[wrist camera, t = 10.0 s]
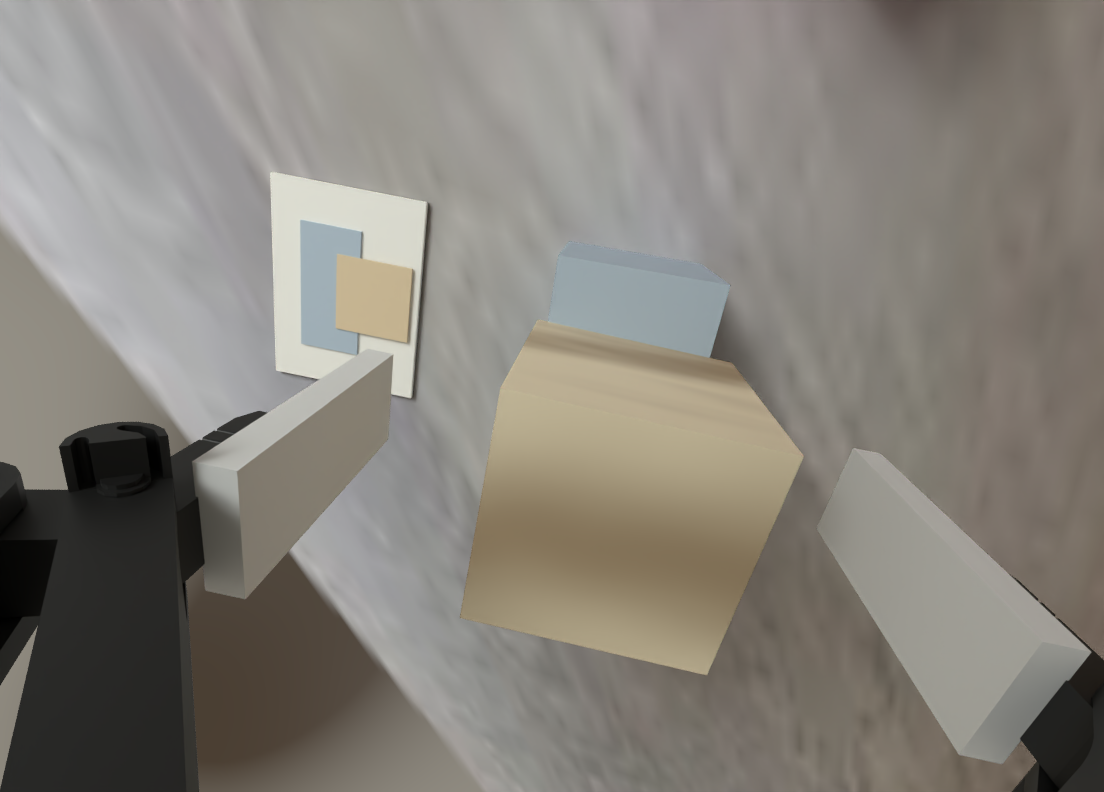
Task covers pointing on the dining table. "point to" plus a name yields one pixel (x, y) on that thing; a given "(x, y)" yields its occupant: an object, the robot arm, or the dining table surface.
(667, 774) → the dining table surface
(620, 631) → the maple cube
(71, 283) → the dining table surface
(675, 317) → the blue brick
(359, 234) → the tile
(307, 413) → the robot arm
